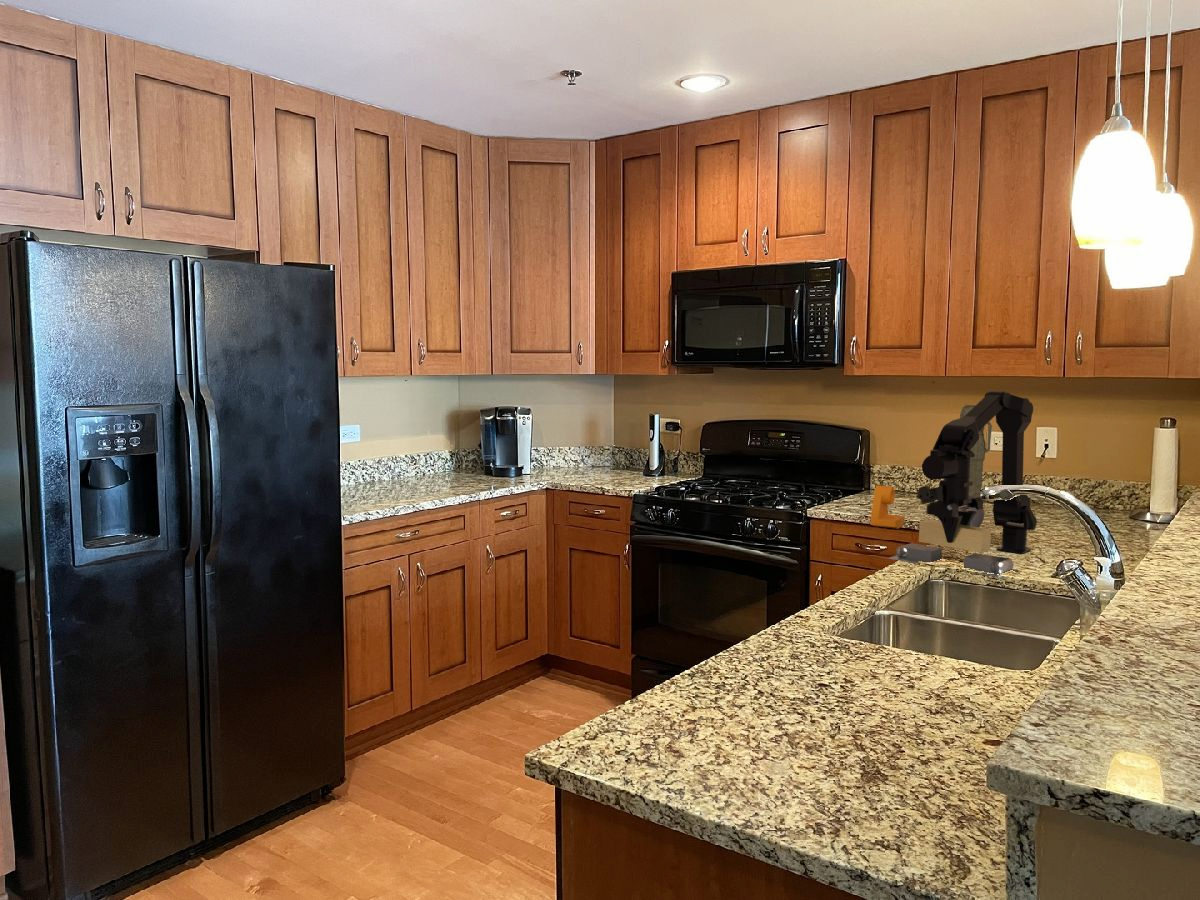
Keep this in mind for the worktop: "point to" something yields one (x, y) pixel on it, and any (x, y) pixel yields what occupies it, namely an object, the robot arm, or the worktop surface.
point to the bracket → (884, 508)
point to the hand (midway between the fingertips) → (953, 541)
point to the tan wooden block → (963, 539)
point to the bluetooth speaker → (976, 517)
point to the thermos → (977, 456)
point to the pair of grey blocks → (971, 561)
